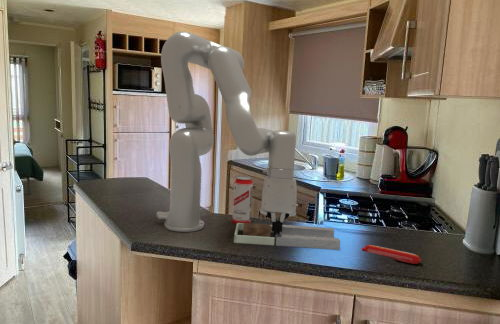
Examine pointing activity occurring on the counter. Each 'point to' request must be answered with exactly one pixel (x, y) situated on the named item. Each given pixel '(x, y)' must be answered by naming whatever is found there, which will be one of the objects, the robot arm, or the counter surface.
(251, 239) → the tray
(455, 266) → the counter surface
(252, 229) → the walnut block
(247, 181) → the beer can
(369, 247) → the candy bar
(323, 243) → the slot channel
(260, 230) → the walnut block
